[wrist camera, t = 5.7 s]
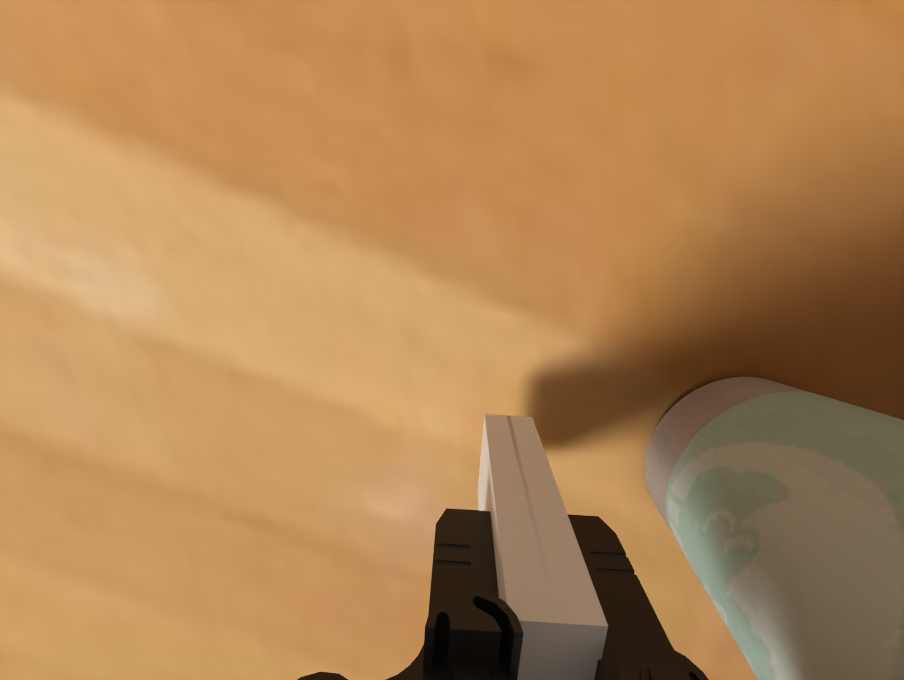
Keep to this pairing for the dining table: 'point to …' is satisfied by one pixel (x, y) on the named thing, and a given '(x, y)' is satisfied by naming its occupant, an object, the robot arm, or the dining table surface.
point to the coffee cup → (789, 524)
